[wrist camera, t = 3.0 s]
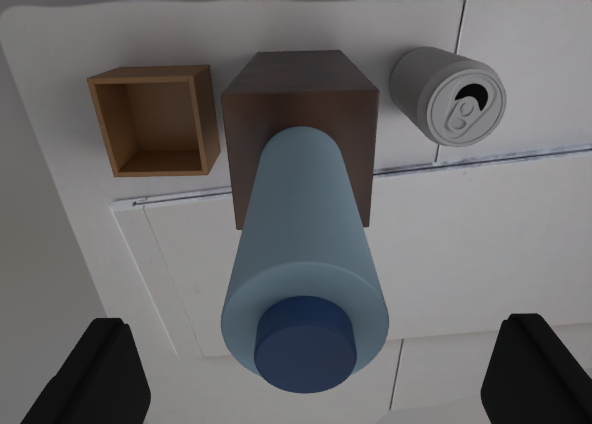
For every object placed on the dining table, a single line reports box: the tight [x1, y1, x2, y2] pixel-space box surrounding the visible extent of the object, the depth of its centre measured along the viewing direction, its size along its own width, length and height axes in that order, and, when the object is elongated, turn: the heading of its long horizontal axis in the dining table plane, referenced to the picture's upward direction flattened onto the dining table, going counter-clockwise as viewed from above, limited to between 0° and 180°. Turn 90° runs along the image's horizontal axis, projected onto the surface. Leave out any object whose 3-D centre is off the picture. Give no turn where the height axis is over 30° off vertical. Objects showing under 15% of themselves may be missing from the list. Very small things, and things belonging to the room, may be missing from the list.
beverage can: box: [390, 47, 506, 147], centre depth 32 cm, size 6×6×12 cm
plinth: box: [221, 50, 379, 230], centre depth 30 cm, size 8×8×20 cm
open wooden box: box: [87, 65, 220, 177], centre depth 36 cm, size 9×9×6 cm
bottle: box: [221, 126, 389, 393], centre depth 15 cm, size 5×5×13 cm
